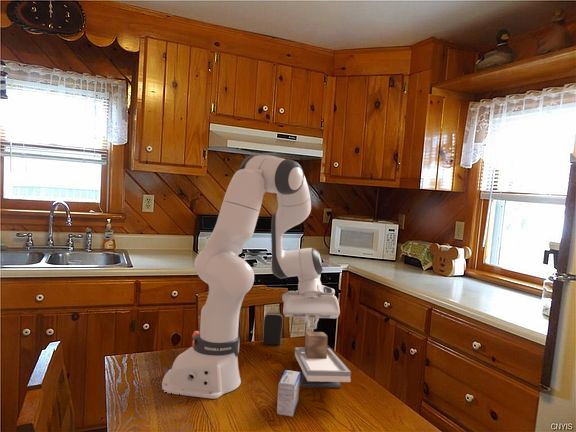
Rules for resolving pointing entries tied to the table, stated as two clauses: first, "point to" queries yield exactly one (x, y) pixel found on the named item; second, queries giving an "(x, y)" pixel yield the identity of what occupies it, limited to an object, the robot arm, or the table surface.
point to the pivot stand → (317, 383)
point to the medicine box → (288, 393)
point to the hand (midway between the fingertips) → (312, 328)
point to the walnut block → (316, 345)
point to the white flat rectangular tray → (323, 367)
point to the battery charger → (272, 328)
